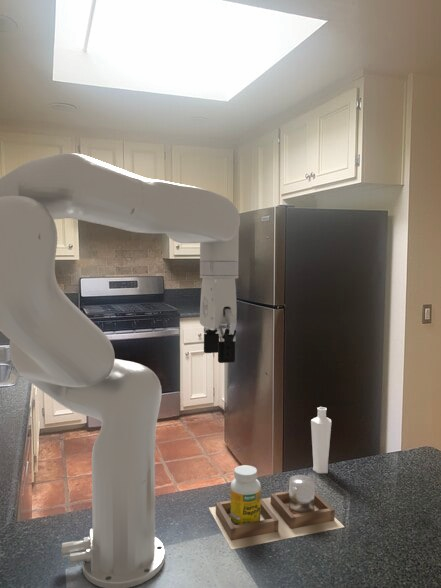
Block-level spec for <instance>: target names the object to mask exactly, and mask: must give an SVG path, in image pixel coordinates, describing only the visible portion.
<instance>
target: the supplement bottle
mask: <svg viewBox="0 0 441 588" xmlns="http://www.w3.org/2000/svg"><path fill="white" fill-rule="evenodd" d="M233 473H234V475H233V477H234V479H232V480H231V483H230V500H231V521H232V523H233V524H234V525H239V524H245V523H250V522H256V521H260V515H261V499H262V495H261V494H262V490H261V489H262V488H261V487H262V486H261V482H260V481H259V479H258V469H257V468H256V467H255V466H252V465H247V464H246V465H245V464H243V465H239V466H236V467H235V468H234V472H233Z"/></svg>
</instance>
